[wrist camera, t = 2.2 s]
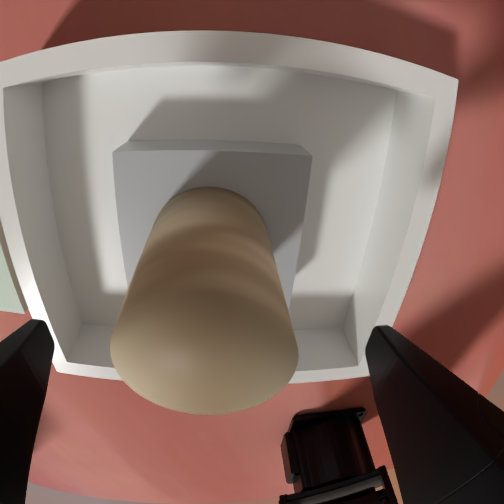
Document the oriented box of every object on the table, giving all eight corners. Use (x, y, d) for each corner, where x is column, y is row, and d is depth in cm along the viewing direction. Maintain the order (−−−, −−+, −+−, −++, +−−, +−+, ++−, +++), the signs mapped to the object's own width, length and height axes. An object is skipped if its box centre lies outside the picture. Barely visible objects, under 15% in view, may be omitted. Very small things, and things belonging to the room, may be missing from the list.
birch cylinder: (272, 188, 11) (314, 291, 6) (262, 289, 14) (284, 412, 8) (148, 186, 11) (90, 287, 6) (157, 287, 13) (130, 410, 8)
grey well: (410, 74, 12) (458, 79, 9) (350, 332, 19) (369, 375, 16) (32, 64, 10) (-16, 67, 7) (75, 328, 17) (57, 371, 14)
